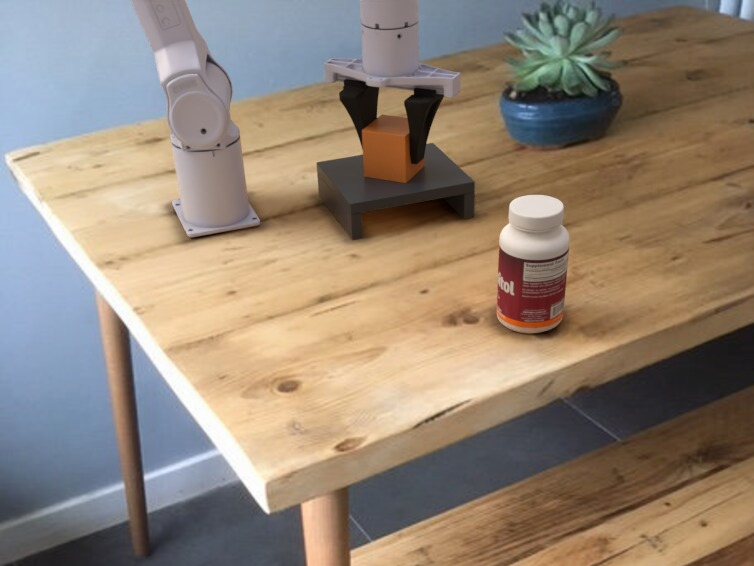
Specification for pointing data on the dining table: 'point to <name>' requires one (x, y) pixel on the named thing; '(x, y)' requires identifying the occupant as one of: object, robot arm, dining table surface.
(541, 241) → the pill bottle
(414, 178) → the shelf
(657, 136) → the dining table surface
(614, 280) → the dining table surface
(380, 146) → the cube
